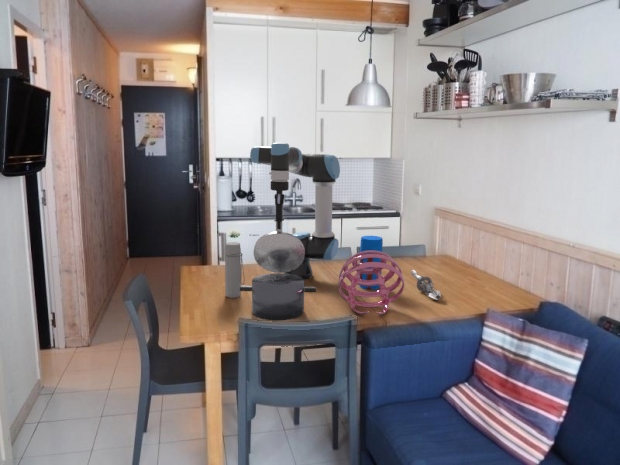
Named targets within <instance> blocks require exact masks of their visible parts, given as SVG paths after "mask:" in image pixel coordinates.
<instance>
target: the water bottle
mask: <svg viewBox="0 0 620 465" xmlns="http://www.w3.org/2000/svg"><path fill="white" fill-rule="evenodd" d="M243 255H244V253H242V250H241V243H240V242H238V241H237V242H236V241H230V242H225V250H224V264H225V266H224V268H225V269H224V272H225V274H224V276H225V278H224V279H225V281H224V282H225V283H224V284H225V285H224V286H225V288H224V289H225V291H224V292H225V297H227V298H228V299H229V298H230V299H236V298H240V296H241V293H242V291H240V285H245V281H246V280H245V272H244V269H243V268H244V262H243ZM242 276H243V281H242ZM242 282H243V283H242Z"/></svg>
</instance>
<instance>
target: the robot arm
mask: <svg viewBox="0 0 620 465" xmlns="http://www.w3.org/2000/svg"><path fill="white" fill-rule="evenodd" d="M249 153H250V155H249V158H250V161H251V163H253V164H258V165H260V164H261V165H266V166H267V165H268V166H270V171H269V173H268V174H269V176H270V180H271V181H270V190H271V191H276V193H275V194H274V205H275V219H274V220H273V222H275V232H283V221H285V219H284V217H283V211H284V210H283V209H284V202H285V201H284V200H285V194H283V192H285V191H286V192H287V191H289V188H290V186H289V183H290V182H289V179H290V173H291V174H294V175H297V176H301V177H305V178H311V179H312V183H314V188H315V192H314V194H315V196H314V197H315V199H314V200H315V201H314V202H315V205H314V211H315V212H314V215H315V216H314V217H315V218H314V220H315V221H314V223H315V224H314V225H315V227H314V232H312V233H310V232H309V231H308V232H307V231H305V232H303V231H301V232H295V233H291V234H292V235H294V236H295V237H297V238H298V239H299V240H300V241H301V242H302V244H303V246H304V249H305V257H304V260H303V262H302V264H301V265H300V266H299V267H298V268H296V269H294V270H292V271H290V272H285V273H284V274H292V275H297V276H299V277H302V278H303V279H304V280H308V279H311V278H313V276H314V274H313V268H312V266H311V261H310V260H311V259H313V260H321V261H333V260H334V259H335V258H336V256H337V253H338V250H339V246H340V245H339V239H338V238H336V237H335V233H334V232H333V231H332V230H333V185H335V183H336V180H337V179H339V178H340V173H341V166H340V161H339V159H338V158H337V156H335V155H333V154H321V153H318V154H317V153H314V154H312V153H302V151H301V150H300V149H299V148H298V147H295V146H290V145H289V143H287V142H273V143H272V144H271V145H270V146H261V145H258V146H253V147H252V148H251V150H250V152H249Z"/></svg>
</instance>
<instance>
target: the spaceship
mask: <svg viewBox="0 0 620 465" xmlns="http://www.w3.org/2000/svg"><path fill="white" fill-rule="evenodd" d="M410 273H411V274H410V275H411V276H413V278H416V281H417V282H416V289H418V291H420V292H424V295H426V297H429V298H432V299H433V300H436V301H440V299H441V298H442V295H441V291H440V290H437V289H436V288H435V287H434V286H435V285H434V284H435V283H433V280H432V278H430V277H429V276H427V275H426V276H424V275H423V274H422V275H419V274H418V272H417V270H415V269H411V271H410Z"/></svg>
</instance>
